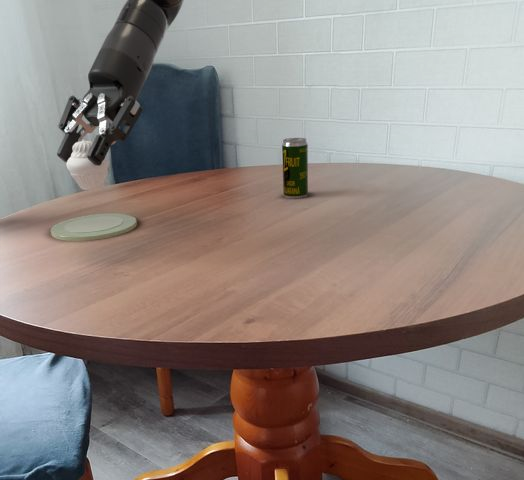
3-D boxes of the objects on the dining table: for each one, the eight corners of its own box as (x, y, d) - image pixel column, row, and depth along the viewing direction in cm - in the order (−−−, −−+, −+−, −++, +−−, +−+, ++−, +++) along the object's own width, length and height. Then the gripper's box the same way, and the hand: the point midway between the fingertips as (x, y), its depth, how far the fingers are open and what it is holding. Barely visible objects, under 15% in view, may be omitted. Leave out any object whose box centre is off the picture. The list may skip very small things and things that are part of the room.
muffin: (114, 182, 85) (106, 135, 82) (111, 190, 80) (102, 140, 77) (74, 185, 85) (64, 137, 81) (68, 193, 79) (57, 143, 76)
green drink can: (288, 193, 122) (287, 137, 117) (311, 194, 120) (311, 137, 115) (279, 199, 118) (278, 141, 112) (303, 200, 116) (302, 141, 110)
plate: (35, 242, 98) (33, 236, 98) (76, 218, 112) (74, 213, 112) (117, 242, 96) (116, 236, 95) (148, 218, 109) (148, 212, 109)
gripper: (74, 48, 82) (27, 142, 79) (142, 43, 75) (93, 146, 72) (106, 84, 89) (64, 172, 86) (172, 83, 82) (128, 179, 79)
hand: (78, 160), depth 79 cm, fingers closed on muffin, 6 cm apart
